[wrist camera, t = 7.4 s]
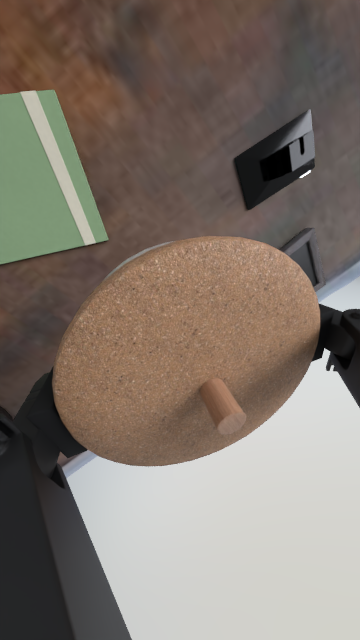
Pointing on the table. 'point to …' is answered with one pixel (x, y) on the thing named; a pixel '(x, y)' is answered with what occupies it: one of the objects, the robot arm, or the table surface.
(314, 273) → the picture frame
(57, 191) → the towel
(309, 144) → the black mounting bracket
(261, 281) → the trinket box
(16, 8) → the table surface
